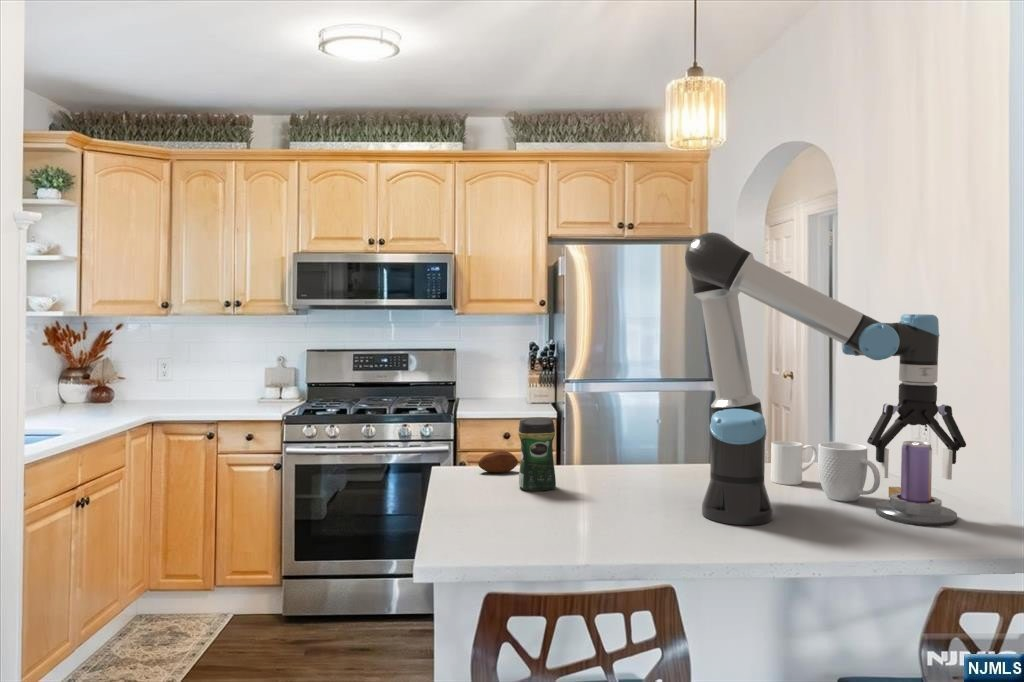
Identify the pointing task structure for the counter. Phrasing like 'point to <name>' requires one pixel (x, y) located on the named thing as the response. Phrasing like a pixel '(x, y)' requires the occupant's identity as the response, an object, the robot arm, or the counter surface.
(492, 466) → the potato
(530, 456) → the coffee jar
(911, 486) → the beverage can
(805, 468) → the mug
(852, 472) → the mug
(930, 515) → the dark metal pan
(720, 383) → the robot arm
